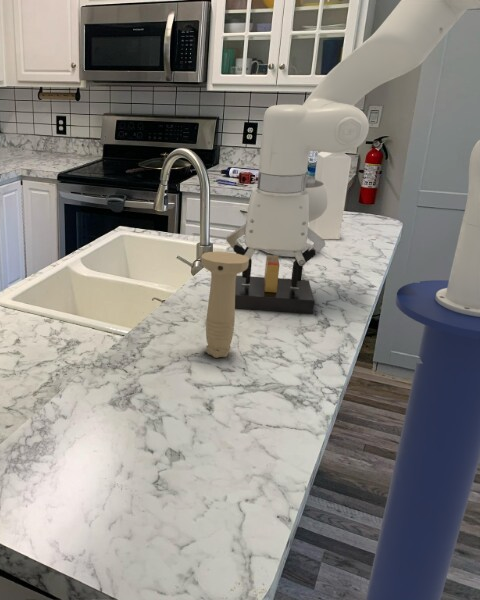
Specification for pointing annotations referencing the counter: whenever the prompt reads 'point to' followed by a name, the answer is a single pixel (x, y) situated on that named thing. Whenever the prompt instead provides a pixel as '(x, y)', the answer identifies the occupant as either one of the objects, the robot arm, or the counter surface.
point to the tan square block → (271, 273)
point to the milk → (332, 193)
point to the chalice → (310, 211)
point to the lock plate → (274, 296)
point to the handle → (222, 299)
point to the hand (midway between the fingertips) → (270, 282)
